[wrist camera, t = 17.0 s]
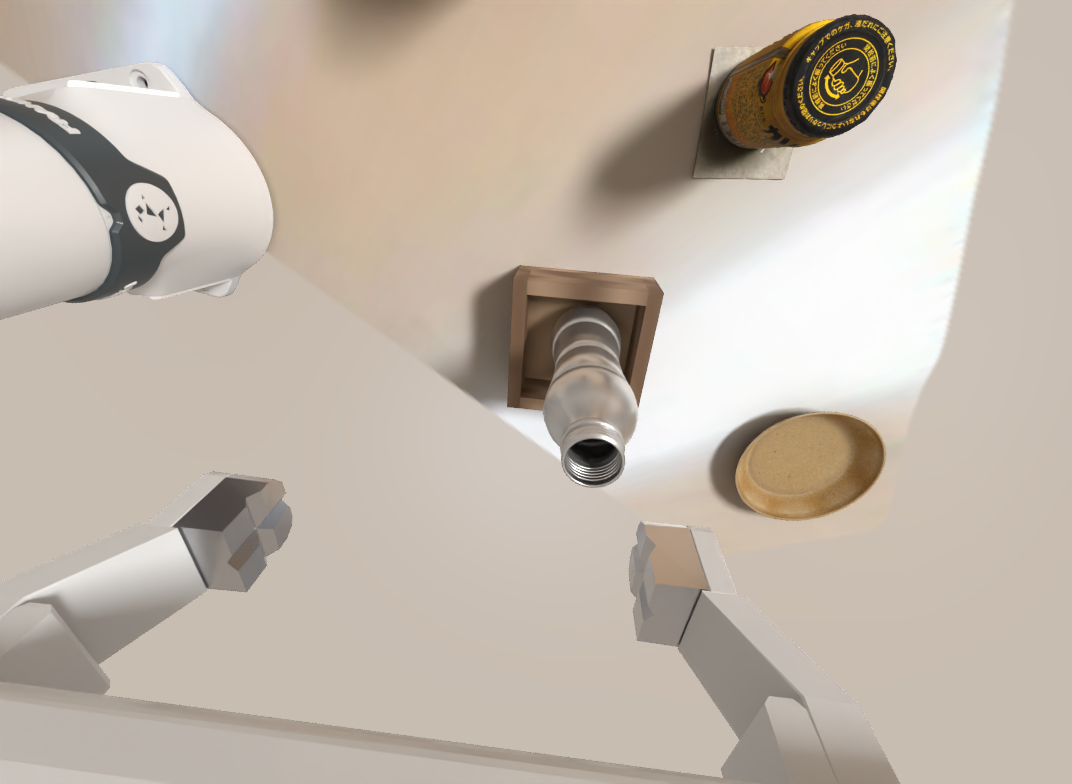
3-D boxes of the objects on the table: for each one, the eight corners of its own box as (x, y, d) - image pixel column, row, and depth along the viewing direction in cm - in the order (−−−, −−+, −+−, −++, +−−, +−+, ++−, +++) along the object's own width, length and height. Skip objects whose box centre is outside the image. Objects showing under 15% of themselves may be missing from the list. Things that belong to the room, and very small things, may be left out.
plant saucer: (859, 499, 50) (872, 516, 48) (726, 510, 52) (733, 526, 50) (883, 390, 43) (900, 403, 41) (729, 408, 45) (737, 421, 43)
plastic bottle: (605, 288, 39) (630, 396, 22) (627, 351, 42) (665, 491, 25) (540, 313, 41) (516, 432, 23) (566, 372, 44) (561, 517, 26)
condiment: (818, 47, 30) (945, -10, 20) (783, 179, 35) (874, 189, 24) (714, 47, 31) (785, -8, 20) (691, 177, 35) (742, 187, 25)
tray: (513, 382, 46) (507, 406, 41) (519, 265, 40) (513, 279, 35) (629, 394, 45) (635, 420, 41) (653, 277, 39) (663, 293, 35)
